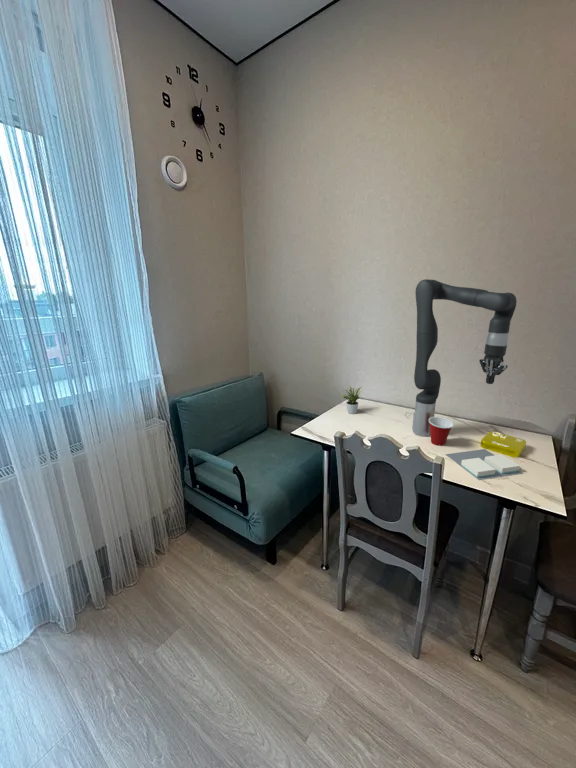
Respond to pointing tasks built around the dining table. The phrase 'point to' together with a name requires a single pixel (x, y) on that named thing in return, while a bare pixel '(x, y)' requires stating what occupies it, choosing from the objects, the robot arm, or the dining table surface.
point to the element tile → (503, 444)
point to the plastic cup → (439, 430)
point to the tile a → (478, 467)
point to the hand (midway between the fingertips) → (489, 383)
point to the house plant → (352, 400)
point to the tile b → (502, 464)
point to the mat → (481, 454)
